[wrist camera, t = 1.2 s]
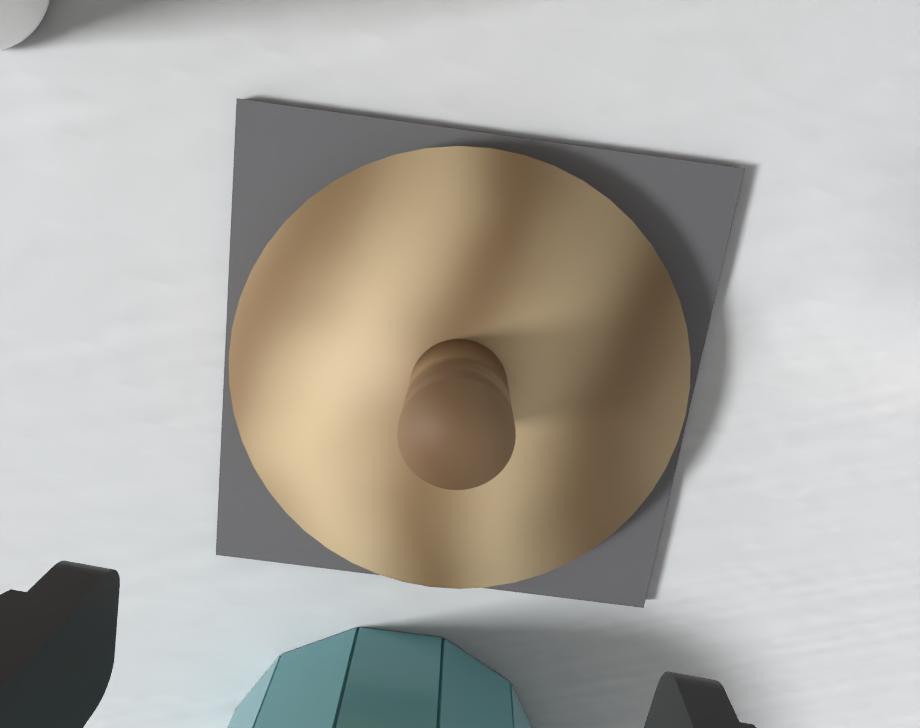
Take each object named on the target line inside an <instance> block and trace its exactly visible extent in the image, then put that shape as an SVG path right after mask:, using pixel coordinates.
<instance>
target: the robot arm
mask: <svg viewBox="0 0 920 728" xmlns="http://www.w3.org/2000/svg"><path fill="white" fill-rule="evenodd" d="M119 587H120V579H119V574H118V572H117V571H116V570H113V569H107V568H102V567H96V566H91V565H85V564H80V563H74V562H69V561H60V562H59V563H57V564H56V565H54V566H53V567H52V568H51V569H50V570H49V571H48V572H47V573H46V574H45V575H44V576H43V577H42V578H41V579H40V580H39V581H38V582H37V583H36V584H35V585H34V586H33V587H32V588H31V589H30V590H29V591H28V592H22V591H16V590H9V591H7V592H5V593H3V594H1V595H0V728H83V727H84V725H85V724H86V722H87V721H88V719H89V718H90V717H91V715H92V714H93V712H94V711H95V709H96V708H97V706H98V705H99V703H100V701H101V699H102V697H103V695H104V693H105V690H106V688H107V685H108V682H109V679H110V676H111V673H112V669H113V663H114V654H115V641H116V627H117V614H118V601H119ZM644 728H756V727H755V726H754V725H752V724H747V723H741V722H739V720H738V718H737V716H736V714H735V712H734V709H733V707H732V705H731V703H730V701H729V699H728V696H727V694H726V692H725V690H724V688H723V686H722V685H721V684H720V682H718V681H716V680H711V679H705V678H700V677H694V676H689V675H683V674H678V673H672V672H665V673H664V674H663V675H662V677H661V678H660V680H659V683H658V685H657V689H656V692H655V695H654V698H653V701H652V704H651V707H650V711H649V714H648V717H647V720H646V723H645V726H644Z"/></svg>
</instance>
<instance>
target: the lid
mask: <svg viewBox="0 0 920 728" xmlns="http://www.w3.org/2000/svg"><path fill="white" fill-rule="evenodd" d="M690 365H691V357H690V348H689V340H688V331H687V326H686V322H685V319H684V315H683V311H682V307H681V303H680V300H679V297H678V295H677V292H676V290H675V288H674V285H673V283H672V280H671V278H670V276H669V273H668V271H667V270H666V268H665V266H664V264H663V263H662V261H661V259H660V258H659V256H658V254H657V253H656V251H655V249H654V248H653V246H652V245H651V243H650V242H649V241H648V240H647V238H646V237H645V236H644V235H643V233H642V232H641V231H640V230H639V228H638V227H637V226H636V225H635V223H634V222H633V221H632V220H631V219H630V218H629V217H628V216H627V215H626V214H625V213H624V212H622V211H621V210H620V209H619V208H618V207H617V206H616V205H615V204H614V203H613V202H612V201H611V200H610V199H608V198H607V197H606V196H604V195H603V194H601V193H600V192H599V191H597V190H596V189H594V188H593V187H591V186H590V185H589V184H587V183H586V182H584V181H583V180H581V179H579V178H577V177H575V176H573V175H571V174H569V173H567V172H566V171H564V170H562V169H560V168H558V167H556V166H554V165H551V164H548V163H545V162H543V161H540V160H537V159H534V158H531V157H528V156H526V155H522V154H517V153H512V152H508V151H503V150H498V149H493V148H482V147H467V146H450V147H435V148H424V149H419V150H415V151H410V152H405V153H400V154H395V155H392V156H389V157H386V158H383V159H381V160H378V161H375V162H372V163H369V164H367V165H364V166H362V167H360V168H358V169H356V170H354V171H352V172H350V173H348V174H346V175H344V176H342V177H341V178H339V179H337V180H335V181H333V182H332V183H331V184H329V185H328V186H326V187H325V188H324V189H322V190H321V191H319V192H318V193H316V194H315V195H314V196H312V197H311V198H309V199H308V200H307V201H306V202H305V203H304V204H303V205H302V206H301V207H300V208H299V209H298V210H297V211H296V212H294V213H293V214H292V215H291V216H290V217H289V218H288V219H287V220H286V221H285V222H284V224H283V225H282V226H281V227H280V229H279V230H278V231H277V232H276V234H275V235H274V236H273V237H272V239H271V240H270V241H269V242H268V244H267V245H266V247H265V248H264V250H263V252H262V253H261V255H260V257H259V258H258V260H257V262H256V264H255V265H254V267H253V269H252V270H251V272H250V275H249V277H248V280H247V282H246V284H245V287H244V289H243V292H242V294H241V296H240V299H239V303H238V307H237V310H236V314H235V318H234V322H233V326H232V332H231V341H230V350H229V386H230V393H231V399H232V405H233V412H234V416H235V419H236V423H237V426H238V429H239V433H240V436H241V439H242V442H243V444H244V447H245V449H246V451H247V453H248V455H249V458H250V460H251V462H252V464H253V467H254V468H255V470H256V472H257V473H258V475H259V476H260V478H261V480H262V481H263V483H264V485H265V486H266V488H267V489H268V491H269V492H270V493H271V495H272V496H273V497H274V498H275V500H276V501H277V502H278V503H279V505H280V506H281V507H282V508H283V510H284V511H285V512H286V513H287V514H288V515H289V516H290V517H291V518H292V519H293V520H294V521H295V522H296V523H297V524H298V525H299V526H300V527H301V528H302V529H303V530H304V531H305V532H307V533H308V534H309V535H311V536H312V537H313V538H315V539H316V540H317V541H318V542H320V543H321V544H322V545H324V546H325V547H326V548H328V549H329V550H331V551H333V552H334V553H336V554H338V555H340V556H341V557H343V558H345V559H346V560H348V561H350V562H352V563H354V564H356V565H358V566H361V567H363V568H365V569H367V570H370V571H372V572H374V573H377V574H380V575H383V576H386V577H389V578H393V579H396V580H399V581H403V582H407V583H413V584H418V585H424V586H429V587H441V588H457V589H462V588H482V587H491V586H497V585H503V584H509V583H515V582H518V581H521V580H525V579H528V578H532V577H535V576H539V575H542V574H544V573H546V572H549V571H551V570H554V569H556V568H558V567H561V566H563V565H565V564H567V563H569V562H571V561H573V560H574V559H576V558H578V557H580V556H581V555H583V554H585V553H587V552H588V551H590V550H592V549H593V548H594V547H596V546H597V545H598V544H600V543H601V542H602V541H604V540H605V539H606V538H608V537H609V536H610V535H612V534H613V533H614V532H615V531H616V530H617V529H618V528H619V527H620V526H621V525H622V524H624V523H625V522H626V521H627V520H628V519H629V518H630V517H631V516H632V515H633V514H634V513H635V511H636V510H637V509H638V508H639V506H640V505H641V504H642V503H643V502H644V500H645V499H646V498H647V497H648V495H649V494H650V493H651V491H652V490H653V488H654V487H655V485H656V483H657V482H658V480H659V479H660V477H661V475H662V474H663V472H664V471H665V469H666V467H667V465H668V462H669V460H670V458H671V456H672V454H673V451H674V449H675V447H676V445H677V442H678V439H679V436H680V432H681V429H682V426H683V422H684V419H685V416H686V409H687V403H688V397H689V390H690Z"/></svg>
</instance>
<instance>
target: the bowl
mask: <svg viewBox="0 0 920 728" xmlns="http://www.w3.org/2000/svg"><path fill="white" fill-rule="evenodd" d="M441 640H442V637H435V636H427V635H418V634H410V633H402V632H394V631H386V630H377V629H369V628H361V627H359V632H358V630H357V628H354V629H351V630H348V631H345V632H343V633H340V634H337V635H334V636H331V637H329V638H326V639H323V640H320V641H317V642H314V643H312V644H309V645H306V646H303V647H300V648H298V649H295V650H292V651H289V652H286V653H284V654H282V655H281V656H279V657H278V658H277V659H276V661H275V662H274V663H273V664H272V665H271V667H270V668H269V669H268V670H267V672H266V673H265V674H264V675H263V676H262V678H261V679H260V680H259V681H258V682H257V684H256V685H255V686H254V687H253V689H252V690H251V691H250V692H249V693H248V695H247V696H246V697H245V698H244V699H243V701H242V702H241V703H240V704H239V706H238V707H237V708H236V709H235V711H234V714H233V716H232V718H231V721H230V723H229V725H228V728H532V727H531V725H530V723H529V720H528V718H527V716H526V714H525V712H524V710H523V708H522V705H521V703H520V701H519V699H518V697H517V695H516V693H515V690H514V688H513V686H512V684H510V682H509V681H508V680H506V679H505V678H503V677H502V676H500V675H499V674H497V673H496V672H494V671H493V670H491V669H490V668H488V667H487V666H485V665H484V664H482V663H481V662H479V661H478V660H476V659H475V658H473V657H472V656H470V655H469V654H467V653H466V652H464V651H463V650H461V649H460V648H458V647H457V646H455V645H454V644H452V643H451V642H449V641H448V640H446V639H444V640H443V641H442V642H441Z"/></svg>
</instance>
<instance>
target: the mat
mask: <svg viewBox="0 0 920 728" xmlns="http://www.w3.org/2000/svg"><path fill="white" fill-rule="evenodd" d="M450 146H467V147H482V148H493V149H498V150H503V151H508V152H512V153H517V154H522V155H526V156H528V157H531V158H534V159H537V160H540V161H543V162H545V163H548V164H551V165H554V166H556V167H558V168H560V169H562V170H564V171H566V172H567V173H569V174H571V175H573V176H575V177H577V178H579V179H581V180H583V181H584V182H586V183H587V184H589V185H590V186H591V187H593V188H594V189H596V190H597V191H599V192H600V193H601V194H603V195H604V196H606V197H607V198H608V199H610V200H611V201H612V202H613V203H614V204H615V205H616V206H617V207H618V208H619V209H620V210H621V211H622V212H624V213H625V214H626V215H627V216H628V217H629V218H630V219H631V220H632V221H633V222H634V223H635V225H636V226H637V227H638V228H639V230H640V231H641V232H642V233H643V235H644V236H645V237H646V238H647V240H648V241H649V242H650V243H651V245H652V246H653V248H654V249H655V251H656V253H657V254H658V256H659V258H660V259H661V261H662V263H663V264H664V266H665V268H666V270H667V271H668V273H669V276H670V278H671V280H672V283H673V285H674V288H675V290H676V292H677V295H678V297H679V300H680V303H681V307H682V311H683V315H684V319H685V322H686V326H687V331H688V340H689V348H690V357H691V365H690V390H689V397H688V403H687V409H686V416H685V419H684V422H683V426H682V429H681V432H680V436H679V439H678V442H677V445H676V447H675V449H674V451H673V454H672V456H671V458H670V460H669V462H668V465H667V467H666V469H665V471H664V472H663V474H662V475H661V477H660V479H659V480H658V482H657V483H656V485H655V487H654V488H653V490H652V491H651V493H650V494H649V495H648V497H647V498H646V499H645V500H644V502H643V503H642V504H641V505H640V506H639V508H638V509H637V510H636V511H635V513H634V514H633V515H632V516H631V517H630V518H629V519H628V520H627V521H626V522H625V523H624V524H622V525H621V526H620V527H619V528H618V529H617V530H616V531H615V532H614V533H613V534H612V535H610V536H609V537H608V538H606V539H605V540H604V541H602V542H601V543H600V544H598V545H597V546H596V547H594V548H593V549H592V550H590V551H588V552H587V553H585V554H583V555H581V556H580V557H578V558H576V559H574V560H573V561H571V562H569V563H567V564H565V565H563V566H561V567H558V568H556V569H554V570H551V571H549V572H546V573H544V574H542V575H539V576H535V577H532V578H528V579H525V580H521V581H518V582H515V583H509V584H503V585H497V586H491V587H482V588H489V589H497V590H505V591H513V592H521V593H529V594H537V595H545V596H553V597H561V598H570V599H578V600H586V601H594V602H602V603H610V604H618V605H626V606H634V607H642V608H644V603H645V599H646V595H647V590H648V586H649V582H650V577H651V573H652V569H653V564H654V560H655V556H656V551H657V547H658V543H659V538H660V534H661V530H662V525H663V521H664V516H665V512H666V508H667V503H668V499H669V495H670V490H671V486H672V482H673V477H674V473H675V469H676V464H677V460H678V456H679V451H680V447H681V443H682V438H683V434H684V430H685V425H686V421H687V417H688V412H689V408H690V403H691V399H692V395H693V390H694V386H695V382H696V377H697V373H698V369H699V364H700V360H701V356H702V351H703V347H704V343H705V338H706V334H707V330H708V325H709V321H710V317H711V312H712V308H713V304H714V299H715V295H716V290H717V286H718V282H719V277H720V273H721V269H722V264H723V260H724V256H725V251H726V247H727V243H728V238H729V234H730V230H731V225H732V221H733V217H734V212H735V208H736V204H737V199H738V195H739V191H740V186H741V182H742V178H743V173H744V168H737V167H730V166H723V165H715V164H708V163H701V162H694V161H686V160H679V159H672V158H665V157H657V156H650V155H643V154H636V153H628V152H621V151H614V150H607V149H599V148H592V147H585V146H578V145H570V144H563V143H556V142H549V141H541V140H534V139H527V138H520V137H512V136H505V135H498V134H491V133H483V132H476V131H469V130H462V129H454V128H447V127H440V126H433V125H425V124H418V123H411V122H404V121H396V120H389V119H382V118H375V117H367V116H360V115H353V114H346V113H338V112H331V111H324V110H317V109H309V108H302V107H295V106H288V105H280V104H273V103H266V102H258V101H251V100H244V99H237V105H236V127H235V149H234V170H233V192H232V214H231V236H230V258H229V280H228V302H227V324H226V346H225V367H224V389H223V411H222V433H221V455H220V477H219V499H218V521H217V542H216V555H222V556H230V557H238V558H246V559H255V560H263V561H271V562H279V563H287V564H295V565H303V566H311V567H319V568H327V569H335V570H343V571H351V572H360V573H368V574H376V575H380V574H377V573H374V572H372V571H370V570H367V569H365V568H363V567H361V566H358V565H356V564H354V563H352V562H350V561H348V560H346V559H345V558H343V557H341V556H340V555H338V554H336V553H334V552H333V551H331V550H329V549H328V548H326V547H325V546H324V545H322V544H321V543H320V542H318V541H317V540H316V539H315V538H313V537H312V536H311V535H309V534H308V533H307V532H305V531H304V530H303V529H302V528H301V527H300V526H299V525H298V524H297V523H296V522H295V521H294V520H293V519H292V518H291V517H290V516H289V515H288V514H287V513H286V512H285V511H284V510H283V508H282V507H281V506H280V505H279V503H278V502H277V501H276V500H275V498H274V497H273V496H272V495H271V493H270V492H269V491H268V489H267V488H266V486H265V485H264V483H263V481H262V480H261V478H260V476H259V475H258V473H257V472H256V470H255V468H254V467H253V464H252V462H251V460H250V458H249V455H248V453H247V451H246V449H245V447H244V444H243V442H242V439H241V436H240V433H239V429H238V426H237V423H236V419H235V416H234V412H233V405H232V399H231V393H230V386H229V350H230V341H231V332H232V326H233V322H234V318H235V314H236V310H237V307H238V303H239V299H240V296H241V294H242V292H243V289H244V287H245V284H246V282H247V280H248V277H249V275H250V272H251V270H252V269H253V267H254V265H255V264H256V262H257V260H258V258H259V257H260V255H261V253H262V252H263V250H264V248H265V247H266V245H267V244H268V242H269V241H270V240H271V239H272V237H273V236H274V235H275V234H276V232H277V231H278V230H279V229H280V227H281V226H282V225H283V224H284V222H285V221H286V220H287V219H288V218H289V217H290V216H291V215H292V214H293V213H294V212H296V211H297V210H298V209H299V208H300V207H301V206H302V205H303V204H304V203H305V202H306V201H307V200H308V199H309V198H311V197H312V196H314V195H315V194H316V193H318V192H319V191H321V190H322V189H324V188H325V187H326V186H328V185H329V184H331V183H332V182H333V181H335V180H337V179H339V178H341V177H342V176H344V175H346V174H348V173H350V172H352V171H354V170H356V169H358V168H360V167H362V166H364V165H367V164H369V163H372V162H375V161H378V160H381V159H383V158H386V157H389V156H392V155H395V154H400V153H405V152H410V151H415V150H419V149H424V148H435V147H450Z"/></svg>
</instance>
